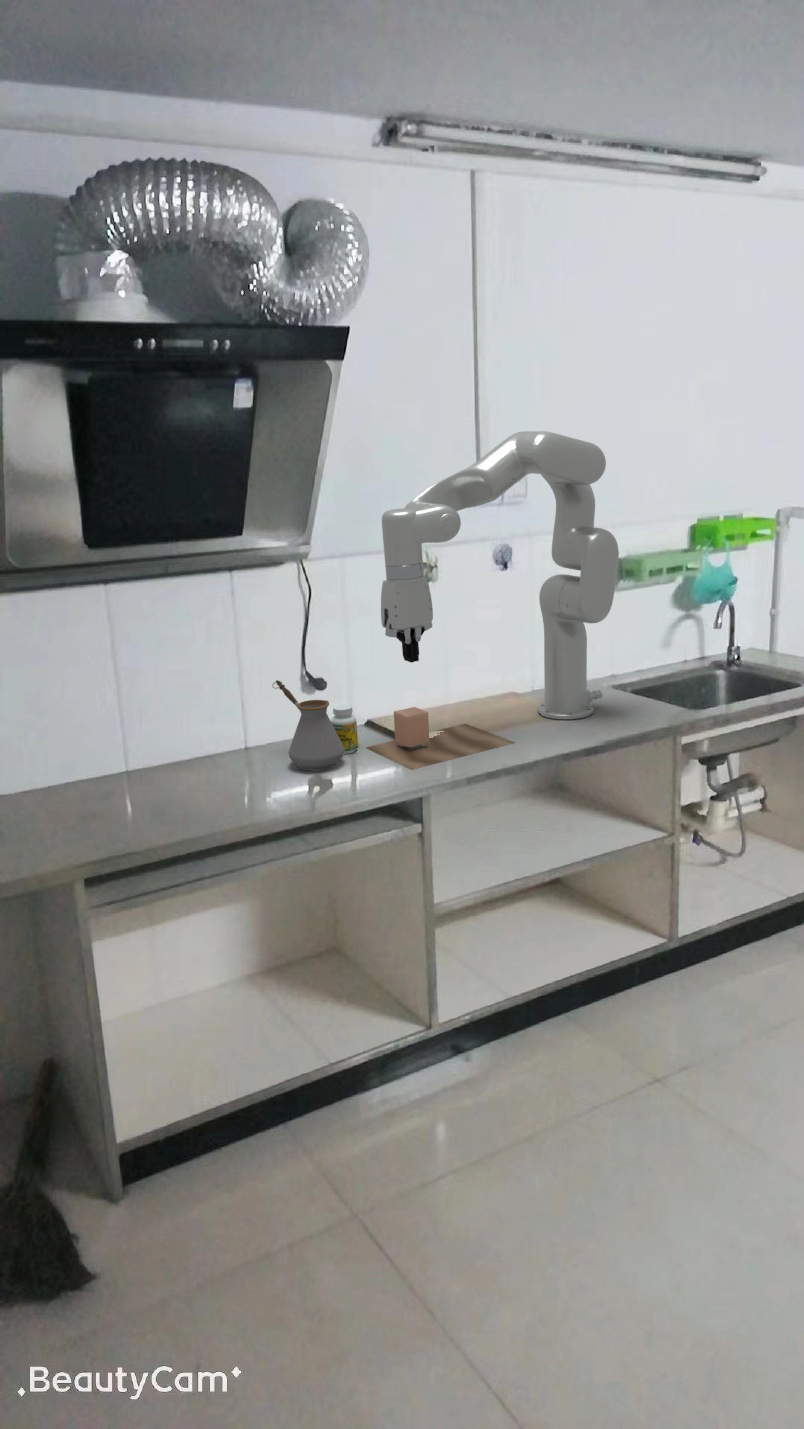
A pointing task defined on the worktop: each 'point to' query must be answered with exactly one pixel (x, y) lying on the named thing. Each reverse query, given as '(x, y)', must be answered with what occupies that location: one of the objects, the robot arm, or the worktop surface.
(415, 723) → the tan wooden brick
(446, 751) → the board
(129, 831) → the worktop surface
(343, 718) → the supplement bottle
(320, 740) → the coffee pot
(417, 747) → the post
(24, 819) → the worktop surface
